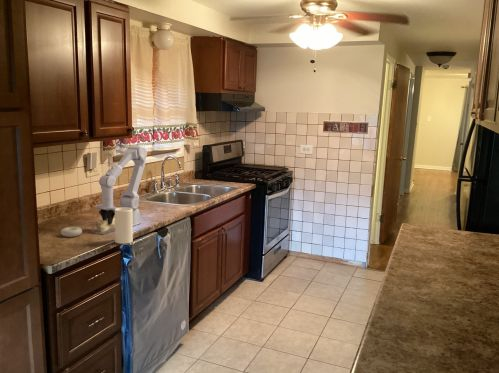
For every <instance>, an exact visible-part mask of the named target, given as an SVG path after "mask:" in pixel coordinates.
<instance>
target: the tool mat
mask: <svg viewBox="0 0 499 373" xmlns="http://www.w3.org/2000/svg"><path fill="white" fill-rule="evenodd" d="M88 233H89V234H95V235H102V236H104V235H107V234H110V233H115V228H112V229H109V230H106V231H103V232H97V228H96V229H93V230H90V231H89V232H88Z"/></svg>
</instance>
